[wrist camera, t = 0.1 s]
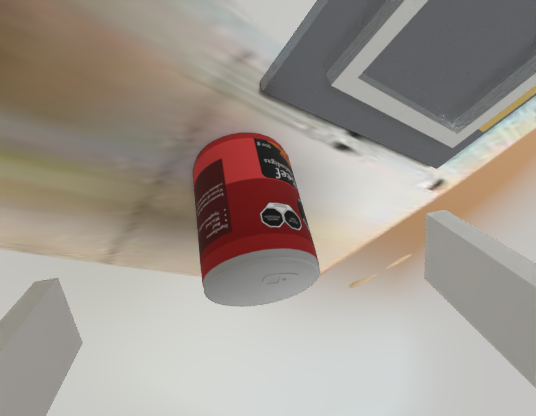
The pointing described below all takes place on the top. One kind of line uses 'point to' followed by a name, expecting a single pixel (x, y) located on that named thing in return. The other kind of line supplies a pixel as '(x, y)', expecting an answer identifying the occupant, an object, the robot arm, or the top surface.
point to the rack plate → (411, 69)
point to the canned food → (251, 223)
